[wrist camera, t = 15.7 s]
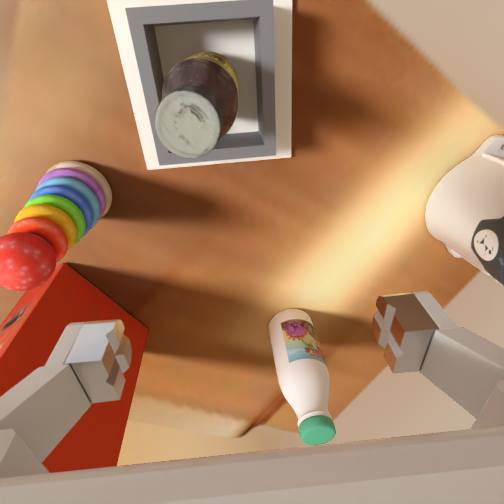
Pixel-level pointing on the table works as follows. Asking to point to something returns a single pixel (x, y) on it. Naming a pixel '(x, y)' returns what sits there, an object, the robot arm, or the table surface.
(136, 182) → the table surface
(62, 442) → the tall red box
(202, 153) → the sauce bottle
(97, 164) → the table surface
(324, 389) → the milk bottle
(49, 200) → the stacking toy
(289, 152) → the mount collar
